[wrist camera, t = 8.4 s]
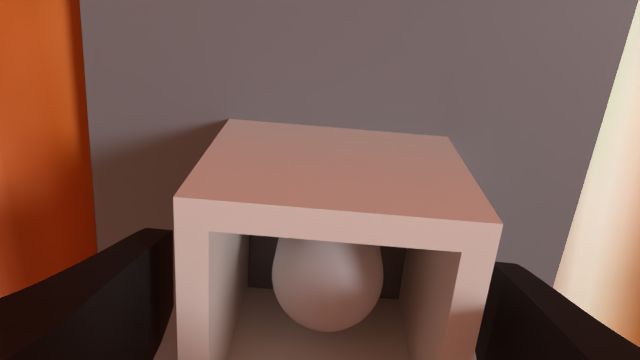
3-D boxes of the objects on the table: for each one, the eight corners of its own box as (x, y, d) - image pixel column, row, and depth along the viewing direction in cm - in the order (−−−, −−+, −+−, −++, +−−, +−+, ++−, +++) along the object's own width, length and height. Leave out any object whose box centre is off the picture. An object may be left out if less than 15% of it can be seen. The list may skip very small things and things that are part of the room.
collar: (447, 136, 14) (502, 223, 9) (416, 318, 16) (448, 464, 11) (229, 119, 14) (173, 197, 9) (227, 302, 16) (180, 442, 11)
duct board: (657, -114, 12) (817, -155, 8) (489, 467, 19) (530, 604, 15) (79, -172, 12) (-51, -242, 8) (118, 432, 19) (58, 559, 15)
